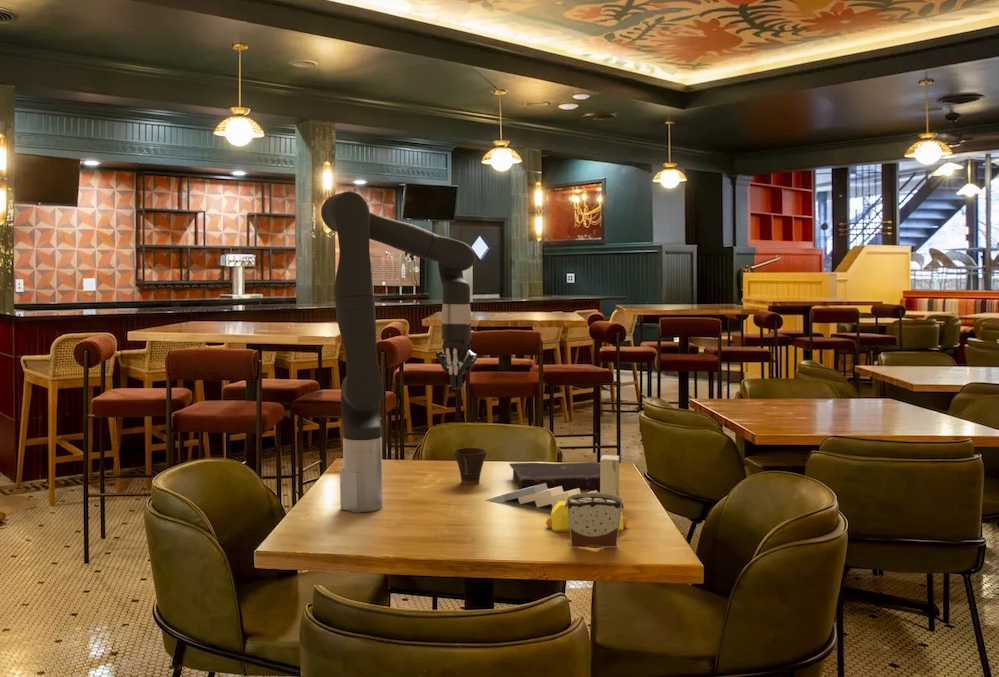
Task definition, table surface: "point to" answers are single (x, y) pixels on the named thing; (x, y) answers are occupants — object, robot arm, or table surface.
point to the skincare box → (609, 475)
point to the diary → (558, 475)
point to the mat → (527, 505)
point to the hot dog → (561, 520)
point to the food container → (594, 519)
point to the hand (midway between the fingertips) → (456, 389)
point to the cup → (470, 464)
